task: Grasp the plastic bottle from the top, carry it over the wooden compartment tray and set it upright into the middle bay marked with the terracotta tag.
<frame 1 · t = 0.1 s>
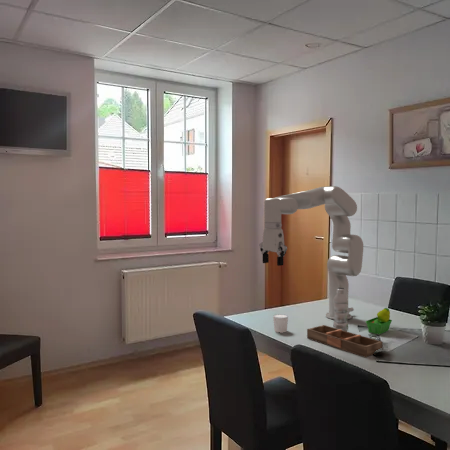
hand: (272, 264, 205), 31 cm above the table, tool pointing down, fingers open, 9 cm apart
fruit basket: (379, 332, 208), on the table
wooden compartment tray: (343, 344, 190), on the table
white cup: (280, 331, 210), on the table
plastic bottle: (340, 332, 207), on the table
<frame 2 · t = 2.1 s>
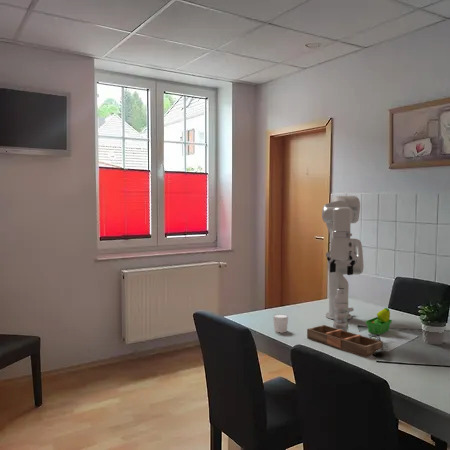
hand: (341, 273, 205), 27 cm above the table, tool pointing down, fingers open, 9 cm apart
nothing on the table moved.
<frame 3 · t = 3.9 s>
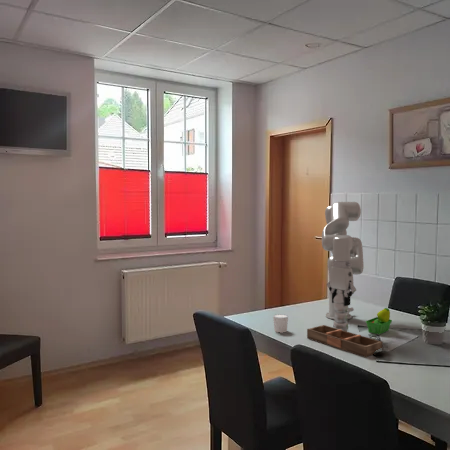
hand: (340, 303, 207), 13 cm above the table, tool pointing down, fingers closed on plastic bottle, 6 cm apart
plastic bottle: (340, 332, 207), on the table, touching gripper
everything else where it was.
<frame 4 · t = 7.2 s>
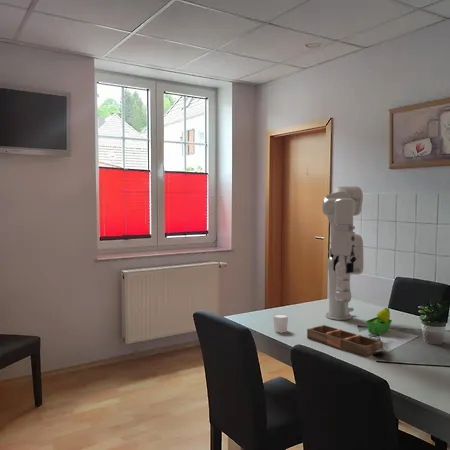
hand: (343, 271, 191), 30 cm above the table, tool pointing down, fingers closed on plastic bottle, 6 cm apart
plastic bottle: (342, 302, 192), point 17 cm above the table, touching gripper
everything else where it was.
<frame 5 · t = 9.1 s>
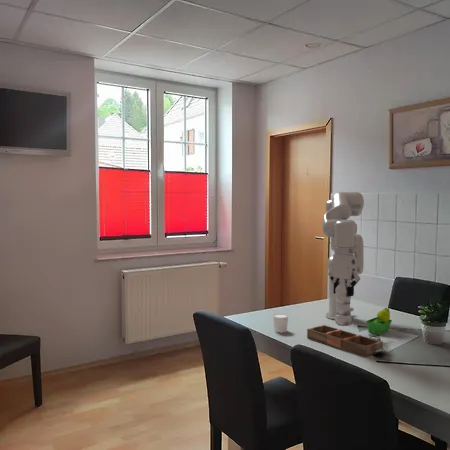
hand: (343, 294, 189), 21 cm above the table, tool pointing down, fingers closed on plastic bottle, 6 cm apart
plastic bottle: (343, 326, 189), point 8 cm above the table, touching gripper
everything else where it was.
when the fingers open (15 cm above the table, at t = 10.8 s): plastic bottle stays where it is, resting on wooden compartment tray.
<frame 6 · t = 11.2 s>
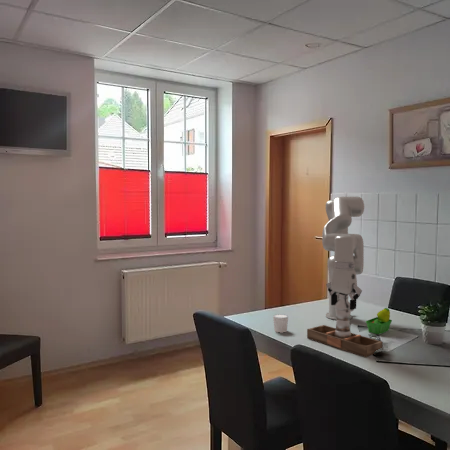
hand: (343, 306, 189), 16 cm above the table, tool pointing down, fingers open, 9 cm apart
plastic bottle: (342, 342, 190), point 1 cm above the table, touching wooden compartment tray
everything else where it was.
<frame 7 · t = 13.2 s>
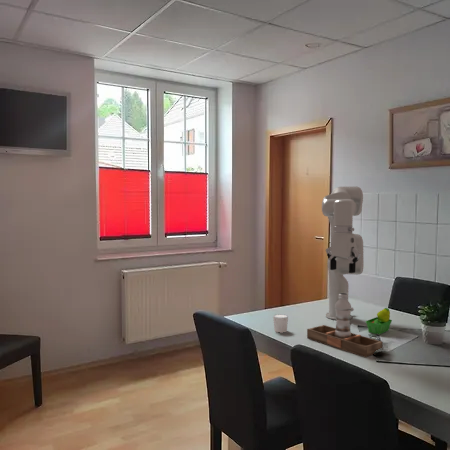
hand: (342, 271, 190), 30 cm above the table, tool pointing down, fingers open, 9 cm apart
nothing on the table moved.
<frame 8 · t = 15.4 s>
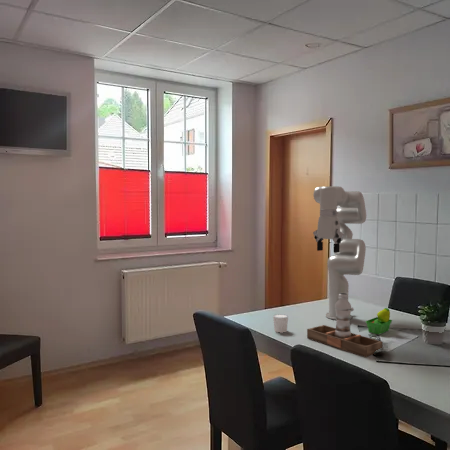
hand: (328, 251, 209), 36 cm above the table, tool pointing down, fingers open, 9 cm apart
nothing on the table moved.
at the end: plastic bottle 0.3 cm off-centre on the wooden compartment tray, point 1.0 cm above the wooden compartment tray's base; plastic bottle tilted 0°; the gripper is holding nothing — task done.
